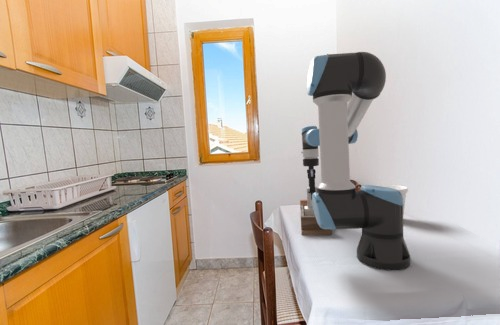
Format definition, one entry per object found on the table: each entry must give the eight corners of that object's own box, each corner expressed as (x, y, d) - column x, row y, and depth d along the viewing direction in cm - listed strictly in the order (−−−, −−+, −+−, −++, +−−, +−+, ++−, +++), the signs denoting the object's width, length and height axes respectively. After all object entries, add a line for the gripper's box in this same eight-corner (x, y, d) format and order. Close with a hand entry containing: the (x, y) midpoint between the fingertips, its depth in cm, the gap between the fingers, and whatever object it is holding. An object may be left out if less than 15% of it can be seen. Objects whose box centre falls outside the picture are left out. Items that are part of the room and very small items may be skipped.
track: (331, 235, 104) (330, 218, 103) (301, 234, 106) (300, 218, 106) (322, 211, 139) (322, 198, 139) (300, 211, 141) (300, 199, 141)
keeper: (321, 217, 123) (320, 188, 122) (304, 217, 125) (303, 188, 124) (320, 213, 129) (319, 186, 128) (304, 213, 131) (303, 186, 130)
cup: (414, 223, 112) (413, 188, 111) (385, 224, 113) (385, 190, 112) (398, 215, 125) (398, 184, 124) (372, 216, 125) (372, 185, 124)
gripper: (302, 157, 134) (304, 200, 136) (303, 159, 117) (305, 209, 119) (317, 156, 133) (318, 200, 134) (320, 158, 116) (321, 209, 118)
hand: (312, 204), depth 127 cm, fingers closed on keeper, 4 cm apart
